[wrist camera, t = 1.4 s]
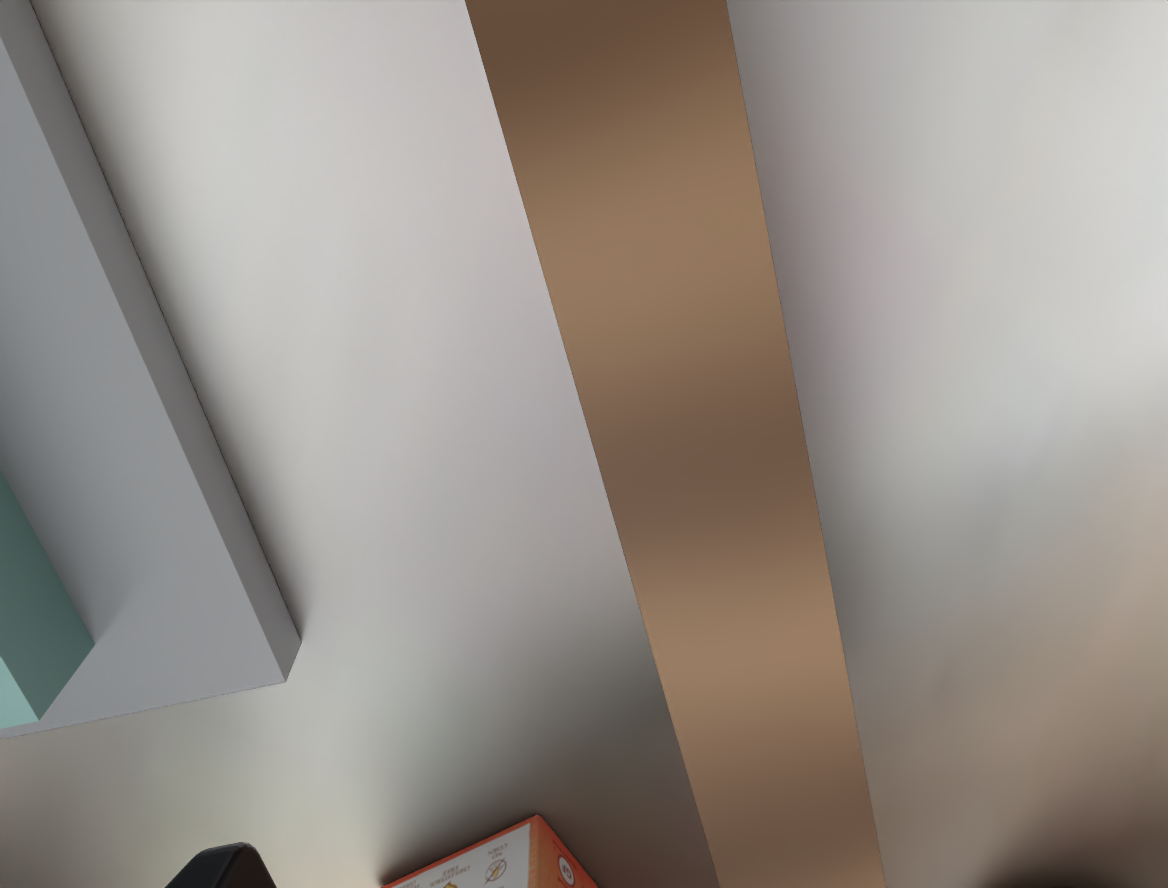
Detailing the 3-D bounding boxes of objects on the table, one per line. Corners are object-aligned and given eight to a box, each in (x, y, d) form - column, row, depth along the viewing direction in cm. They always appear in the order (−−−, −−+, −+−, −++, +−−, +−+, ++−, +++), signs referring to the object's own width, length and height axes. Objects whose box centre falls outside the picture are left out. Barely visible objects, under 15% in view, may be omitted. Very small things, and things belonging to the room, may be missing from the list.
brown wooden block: (804, 697, 24) (894, 936, 18) (692, 723, 24) (743, 968, 18) (593, -318, 15) (624, -562, 9) (421, -262, 16) (331, -463, 9)
